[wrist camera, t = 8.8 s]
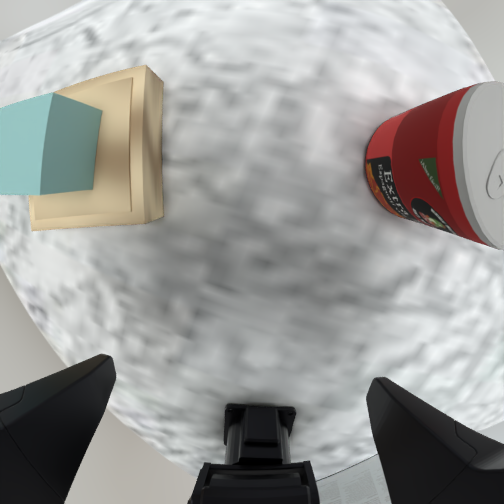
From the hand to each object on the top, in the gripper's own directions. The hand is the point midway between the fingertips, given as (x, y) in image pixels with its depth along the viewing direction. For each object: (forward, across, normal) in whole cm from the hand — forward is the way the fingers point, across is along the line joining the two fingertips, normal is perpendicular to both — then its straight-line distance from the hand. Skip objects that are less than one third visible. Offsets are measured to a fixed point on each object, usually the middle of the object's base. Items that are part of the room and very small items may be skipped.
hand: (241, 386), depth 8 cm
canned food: (+12, -11, -9) cm, 19 cm away
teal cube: (+8, +12, -8) cm, 17 cm away
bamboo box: (+12, +12, -8) cm, 19 cm away
